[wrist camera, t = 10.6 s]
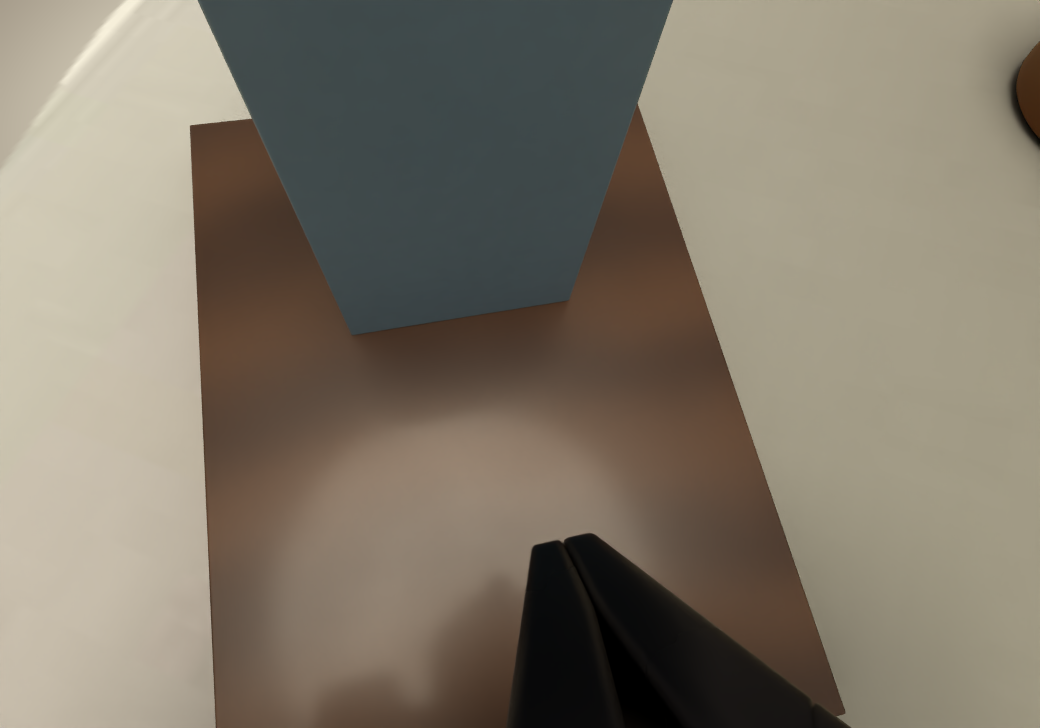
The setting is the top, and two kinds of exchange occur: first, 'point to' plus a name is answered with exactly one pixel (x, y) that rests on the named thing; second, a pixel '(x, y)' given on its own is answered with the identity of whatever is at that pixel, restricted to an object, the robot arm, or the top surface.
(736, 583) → the walnut board
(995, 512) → the top surface
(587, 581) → the robot arm
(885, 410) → the top surface
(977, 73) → the top surface
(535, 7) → the pen caddy
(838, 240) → the top surface
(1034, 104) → the mug
